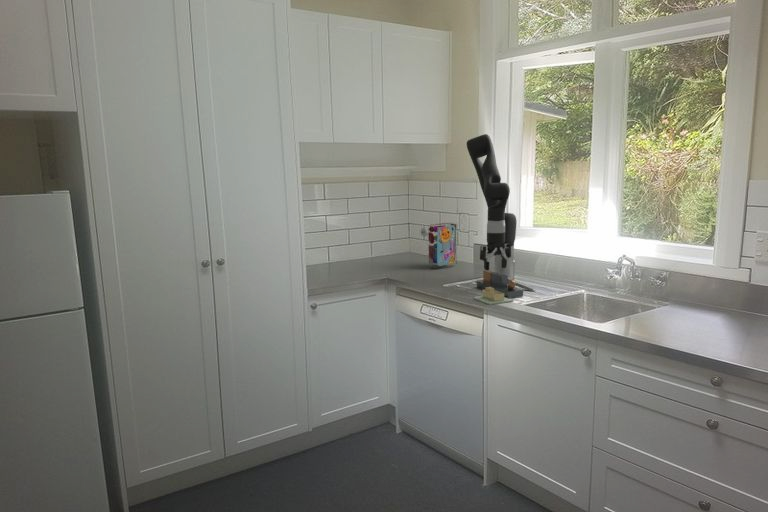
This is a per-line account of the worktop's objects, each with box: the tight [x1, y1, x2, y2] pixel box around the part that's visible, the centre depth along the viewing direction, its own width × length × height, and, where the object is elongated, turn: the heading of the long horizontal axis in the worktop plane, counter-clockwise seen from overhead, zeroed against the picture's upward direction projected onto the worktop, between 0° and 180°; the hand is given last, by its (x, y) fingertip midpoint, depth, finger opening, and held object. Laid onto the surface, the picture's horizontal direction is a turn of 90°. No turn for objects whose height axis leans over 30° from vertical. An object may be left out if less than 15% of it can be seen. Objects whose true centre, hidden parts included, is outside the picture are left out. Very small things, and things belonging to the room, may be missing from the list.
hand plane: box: [476, 269, 524, 299], centre depth 251 cm, size 8×24×8 cm, turn 24°
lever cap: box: [481, 287, 504, 302], centre depth 237 cm, size 5×9×4 cm, turn 24°
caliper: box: [507, 278, 537, 292], centre depth 258 cm, size 20×1×6 cm, turn 47°
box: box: [420, 222, 458, 270], centre depth 304 cm, size 25×6×24 cm, turn 129°
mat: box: [472, 295, 514, 306], centre depth 237 cm, size 12×12×1 cm
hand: (495, 269), depth 235 cm, fingers open, 8 cm apart
